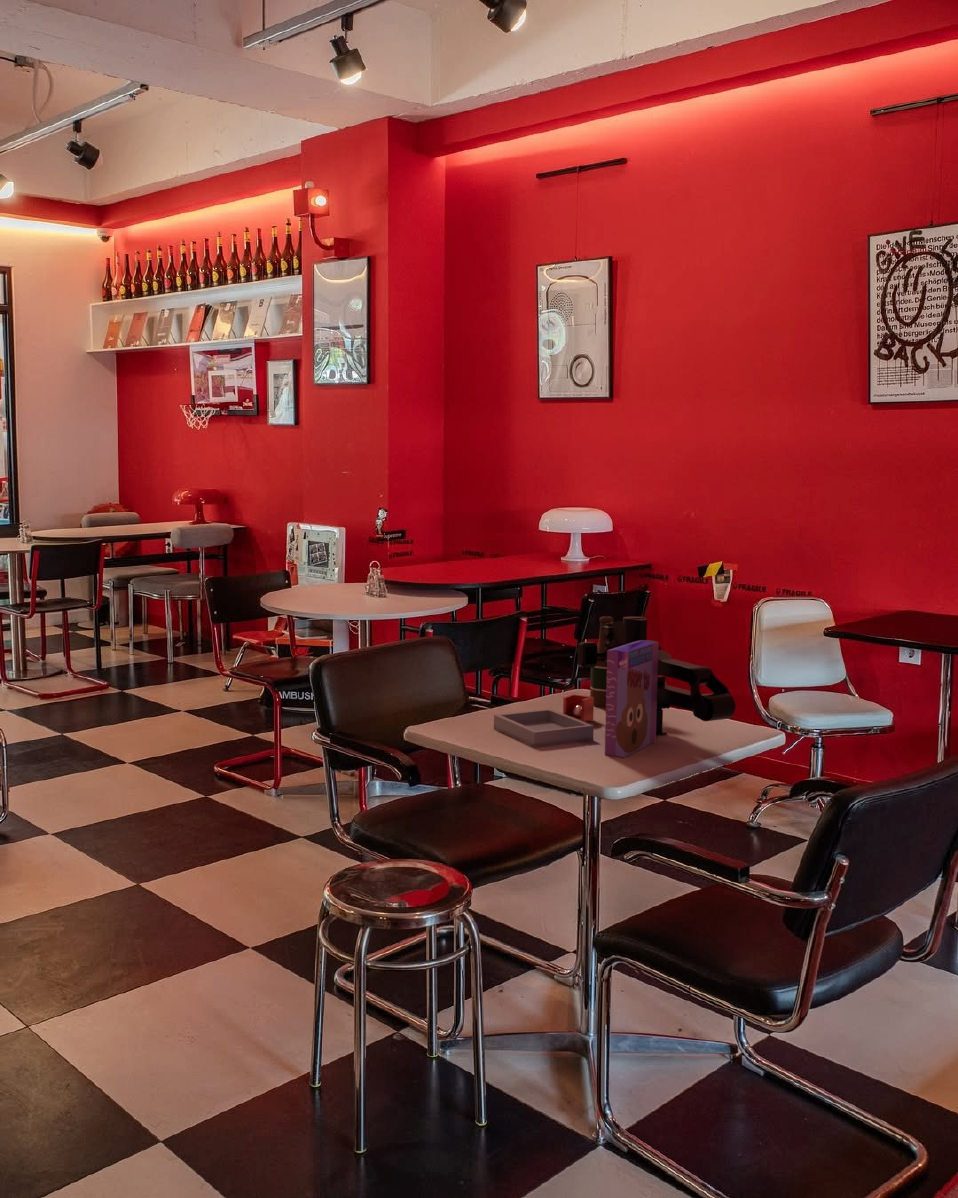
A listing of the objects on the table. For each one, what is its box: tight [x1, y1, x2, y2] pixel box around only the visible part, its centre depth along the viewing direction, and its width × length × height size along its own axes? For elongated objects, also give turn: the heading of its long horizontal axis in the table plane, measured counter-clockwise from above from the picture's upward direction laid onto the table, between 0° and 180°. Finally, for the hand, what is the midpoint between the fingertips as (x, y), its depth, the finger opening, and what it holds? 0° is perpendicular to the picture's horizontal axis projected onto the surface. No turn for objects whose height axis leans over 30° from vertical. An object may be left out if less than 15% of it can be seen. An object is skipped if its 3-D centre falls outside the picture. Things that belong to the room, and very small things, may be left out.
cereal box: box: [604, 639, 660, 759], centre depth 256 cm, size 17×5×24 cm, turn 148°
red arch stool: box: [562, 693, 595, 724], centre depth 285 cm, size 6×5×6 cm
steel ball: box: [573, 705, 582, 717], centre depth 285 cm, size 3×3×3 cm
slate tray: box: [493, 708, 595, 748], centre depth 270 cm, size 20×16×4 cm
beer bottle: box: [589, 615, 614, 709], centre depth 303 cm, size 8×8×24 cm
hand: (593, 650), depth 293 cm, fingers open, 9 cm apart
